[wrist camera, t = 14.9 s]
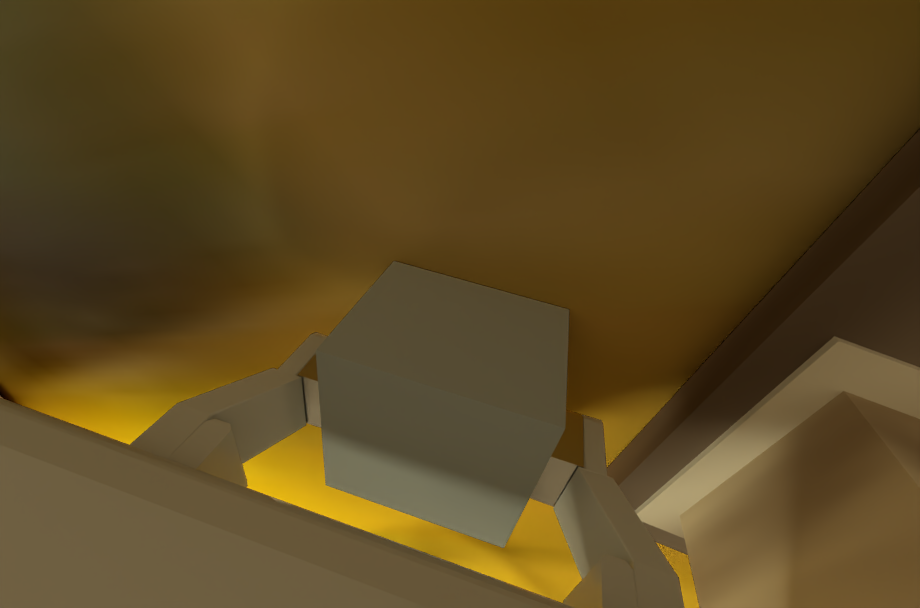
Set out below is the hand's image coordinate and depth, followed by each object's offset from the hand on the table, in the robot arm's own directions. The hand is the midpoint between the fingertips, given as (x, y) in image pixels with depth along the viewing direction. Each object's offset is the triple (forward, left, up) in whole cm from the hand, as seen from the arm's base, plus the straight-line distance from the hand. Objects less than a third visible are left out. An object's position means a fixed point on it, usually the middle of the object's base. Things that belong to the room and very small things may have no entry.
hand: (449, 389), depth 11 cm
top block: (0, 0, -2) cm, 2 cm away
